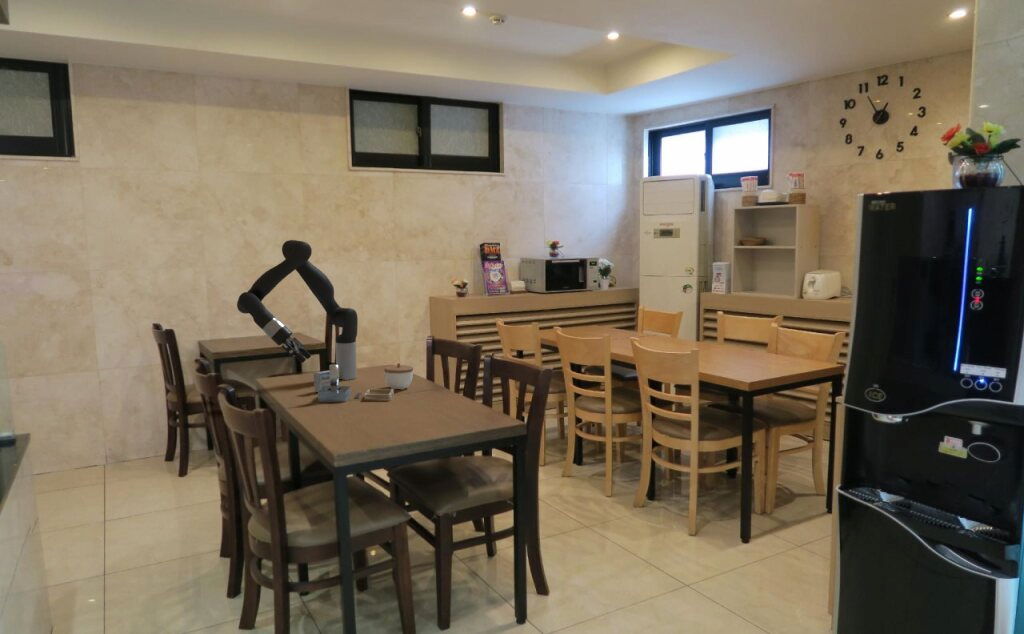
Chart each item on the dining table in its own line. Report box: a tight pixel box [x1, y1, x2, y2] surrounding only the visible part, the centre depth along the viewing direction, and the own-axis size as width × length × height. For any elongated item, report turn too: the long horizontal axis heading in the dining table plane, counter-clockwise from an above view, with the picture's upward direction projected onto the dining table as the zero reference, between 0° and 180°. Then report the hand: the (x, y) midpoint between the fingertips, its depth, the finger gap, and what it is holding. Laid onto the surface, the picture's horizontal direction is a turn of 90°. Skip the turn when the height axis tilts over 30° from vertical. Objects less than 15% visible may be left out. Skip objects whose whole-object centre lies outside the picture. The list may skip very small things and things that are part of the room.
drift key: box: [354, 392, 363, 399], centre depth 281 cm, size 7×2×1 cm, turn 3°
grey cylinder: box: [328, 363, 340, 391], centre depth 276 cm, size 4×4×14 cm
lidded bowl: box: [383, 362, 414, 390], centre depth 297 cm, size 13×13×11 cm
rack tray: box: [363, 388, 395, 402], centre depth 278 cm, size 10×10×2 cm
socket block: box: [317, 385, 352, 403], centre depth 276 cm, size 11×11×4 cm
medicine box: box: [313, 370, 330, 393], centre depth 290 cm, size 8×4×9 cm, turn 143°
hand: (307, 359), depth 274 cm, fingers open, 8 cm apart
